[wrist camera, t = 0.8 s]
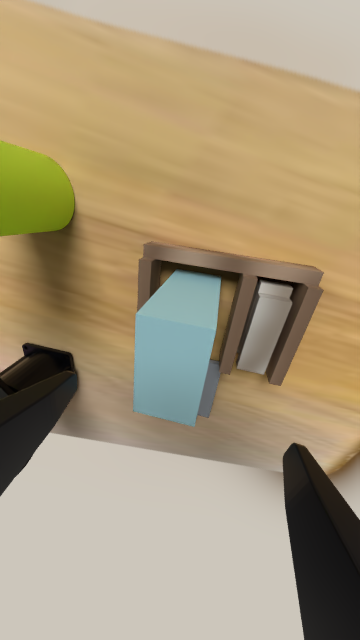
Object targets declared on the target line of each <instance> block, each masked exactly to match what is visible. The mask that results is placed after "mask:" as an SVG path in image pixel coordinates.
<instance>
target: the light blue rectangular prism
mask: <svg viewBox="0 0 360 640" xmlns="http://www.w3.org/2000/svg"><path fill="white" fill-rule="evenodd" d="M220 285H221V276H217V275H212V274H206V273H200V272H194V271H188V270H182V269H176V270H175V272H174V273H173V274H172V275H171V276H170V277H169V278H168V279H167V280H166V281H165V283H164V284H163V285H162V286H161V287H160V288H159V289H158V290H157V291H156V292H155V293H154V295H153V296H152V297H151V298H150V299H149V300H148V301H147V302H146V303H145V304H144V305H143V307H142V308H141V309H140V310H139V311H138V312H137V313H136V325H135V363H134V401H133V411H134V412H138V413H142V414H146V415H150V416H154V417H158V418H162V419H165V420H169V421H173V422H177V423H181V424H185V425H189V426H193V427H194V426H195V422H196V417H197V413H198V409H199V404H200V400H201V395H202V391H203V387H204V382H205V378H206V373H207V369H208V364H209V360H210V356H211V351H212V347H213V342H214V338H215V334H216V328H217V317H218V307H219V296H220Z"/></svg>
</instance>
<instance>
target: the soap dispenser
mask: <svg viewBox="0 0 360 640" xmlns="http://www.w3.org/2000/svg"><path fill="white" fill-rule="evenodd" d="M74 204H75V202H74V193H73V189H72V186H71V183H70V181H69V179H68V177H67V175H66V174H65V172H64V171H63V169H62V168H61V167H60V166H59V165H58V164H57V163H56V162H55V161H54V160H53V159H51V158H50V157H48V156H46V155H43V154H40V153H37V152H34V151H31V150H28V149H25V148H22V147H19V146H16V145H13V144H10V143H6V142H3V141H0V236H8V235H18V234H28V233H38V232H48V231H57V230H60V229H62V228H64V227H65V226H66V225H67V224H68V223H69V222H70V220H71V218H72V216H73V212H74Z"/></svg>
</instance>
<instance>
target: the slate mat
mask: <svg viewBox="0 0 360 640" xmlns="http://www.w3.org/2000/svg"><path fill="white" fill-rule="evenodd" d="M220 374H221V373H220V372H219V361H215V360H209V364H208V369H207V373H206V378H205V382H204V387H203V391H202V395H201V400H200V404H199V409H198V413H197V415H199V416H203V417H207V418H209V415H210V411H211V408H212V404H213V400H214V396H215V392H216V389H217V385H218V381H219V377H220Z"/></svg>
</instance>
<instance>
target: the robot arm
mask: <svg viewBox="0 0 360 640" xmlns="http://www.w3.org/2000/svg"><path fill="white" fill-rule="evenodd" d="M22 348H23V352H24V355H25V356H24V357H22V358H21V359H19V360H18V361H16V362H15V363H14V364H12V365H11V366H9V367H8V368H6V369H5V370H4V371H2V372H1V373H0V496H1V495H2V493H3V492H4V491H5V489H6V488H7V487H8V486H9V484H10V483H11V482H12V480H13V479H14V478H15V477H16V476H17V475H18V474H19V473H20V472H21V470H22V469H23V468H24V467H25V466H26V465H27V463H28V462H29V460H30V459H31V457H32V455H33V454H34V452H35V451H36V449H37V448H38V447H39V445H40V444H41V443H42V442H43V440H44V439H45V438H46V436H47V435H48V434H49V432H50V431H51V430H52V428H53V427H54V426H55V424H56V423H57V421H58V419H59V418H60V416H61V415H62V413H63V412H64V410H65V408H66V407H67V405H68V404H69V402H70V400H71V399H72V397H73V396H74V394H75V392H76V390H77V375H76V373H74V367H73V360H72V355H71V354H70V353H69V352H65V351H61V350H56V349H52V348H47V347H43V346H39V345H34V344H30V343H25V344H24V345H23V346H22ZM283 475H284V495H285V496H284V497H285V509H286V516H287V523H288V530H289V537H290V544H291V551H292V558H293V565H294V571H295V578H296V585H297V592H298V599H299V606H300V613H301V620H302V627H303V633H304V640H360V520H359V518H358V517H357V516H356V514H355V513H354V512H353V510H352V509H351V508H350V506H349V505H348V504H347V502H346V501H345V500H344V498H343V497H342V495H341V494H340V493H339V491H338V490H337V489H336V487H335V486H334V485H333V483H332V482H331V480H330V479H329V478H328V476H327V475H326V474H325V472H324V471H323V470H322V468H321V467H320V466H319V464H318V463H317V461H316V460H315V459H314V457H313V456H312V455H311V453H310V452H309V451H308V449H307V448H306V447H305V446H303V445H300V444H297V443H292V444H291V445H290V447H289V448H288V449H287V451H286V452H285V453H284V456H283Z"/></svg>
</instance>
